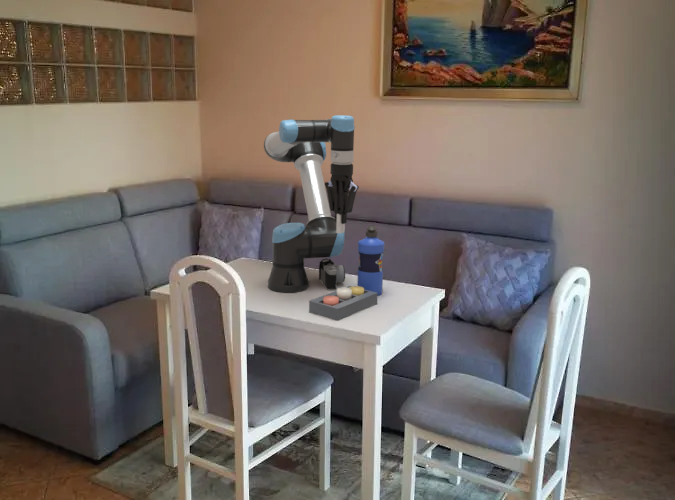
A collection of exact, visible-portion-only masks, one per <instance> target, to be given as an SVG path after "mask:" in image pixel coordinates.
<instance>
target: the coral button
mask: <svg viewBox="0 0 675 500" xmlns="http://www.w3.org/2000/svg"><path fill="white" fill-rule="evenodd" d="M323 304H327V305H330V306H334V305H336V304H339V298H338V297H337V296H325V297H324V298H323Z"/></svg>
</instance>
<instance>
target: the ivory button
mask: <svg viewBox="0 0 675 500" xmlns="http://www.w3.org/2000/svg"><path fill="white" fill-rule="evenodd" d="M346 287H347V286H345V287H344V286H343V287H338V288H336V291H337V297H338V298H339V299H341V300H345V301H346V300H349V299H352V289H350V288H346Z"/></svg>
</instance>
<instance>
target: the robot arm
mask: <svg viewBox="0 0 675 500" xmlns="http://www.w3.org/2000/svg"><path fill="white" fill-rule="evenodd" d="M355 128H356V127H355V118H354V117H353V116H351V115H345V114H344V115H343V114H342V115H338V114H337V115H333V116H332V117H331V118H327V119H292V118H291V119H284V120H283V119H282V120H281V121H280V122H279V128H278V131H274V132H272V133H269V135H267V136H266V137H265V139H264V141H263V149H264V152H265V154H266V155H267V156H268V157H269V159H272V160H274V161H277V162H279V163H293V166H294V168H295V169H296V170H297V171H298V172H299V176H300V181H301V186H302V191H303V197H304V201H305V202H304V203H305V206H306V207H305V208H306V211H307V217H308V218H307V219H308V221H307V222H306V225H305V224H304V223H302V222H287V223H282V224H280V225H277V226H276V227H274V228H273V230H272V236H271V237H272V238H271V242H272V267H271V270H270V274H269V278H268V280H267V287H268V288H269V290H271V291H273V292H279V293H298V292H304V291H306V290H307V289H309V288H310V280H309V278H308V274H307V272H306V268H305V259H318V258H319V259H320V258H328V259H331V258H332V257H338V256H340V255H341V254H342V252H343V249H344V246H345V232H346V227H345V226H346V224H347V217H348V214H349V213H352V212H353V208H354V203H355V200H356V195H357V192H358V190H359V188H360V186H359V185H358V184H357V185H356V184H355V183H354V180H353V175H354V164H353V163H354V156H355V155H354V153H355V151H354V147H355V145H354V144H355ZM326 143H330V162H331V163H330V175H331V177H330V180H328V181H327V182H325V181H324V175H323V171H322V166H323V165H324V162H325V160H326V157H327V145H326ZM331 211H332V212H333V213H334V216H332V213H331Z"/></svg>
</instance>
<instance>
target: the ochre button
mask: <svg viewBox="0 0 675 500" xmlns="http://www.w3.org/2000/svg"><path fill="white" fill-rule="evenodd" d="M351 286H352V287H350V289H352V294H353V295H357V296H359V295H362V294H364V288H363V287H361V286H357V285H354V286H353V285H351Z"/></svg>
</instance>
